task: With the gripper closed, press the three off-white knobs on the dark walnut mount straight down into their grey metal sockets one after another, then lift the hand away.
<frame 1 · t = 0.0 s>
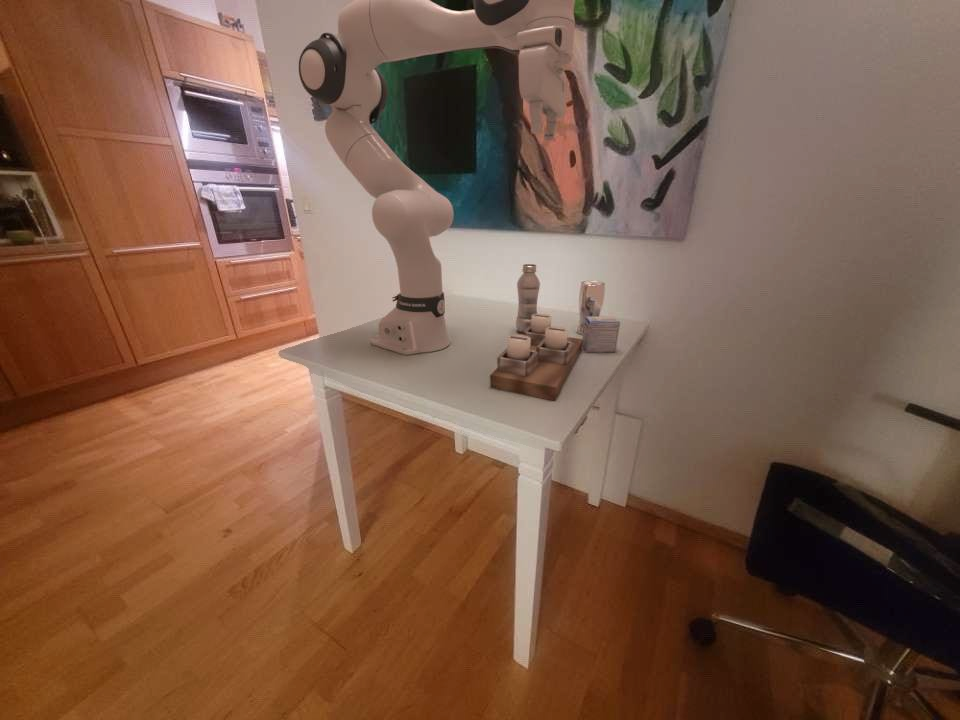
hand: (543, 137, 72), 48 cm above the table, tool pointing down, fingers open, 8 cm apart
knob mount: (541, 366, 88), on the table
plastic bottle: (526, 332, 111), on the table
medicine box: (598, 350, 98), on the table
knob b: (556, 337, 83), point 8 cm above the table, slide at 0.0 cm
knob c: (541, 323, 93), point 8 cm above the table, slide at 0.0 cm
beer glass: (587, 333, 111), on the table
knob a: (518, 346, 78), point 8 cm above the table, slide at 0.0 cm
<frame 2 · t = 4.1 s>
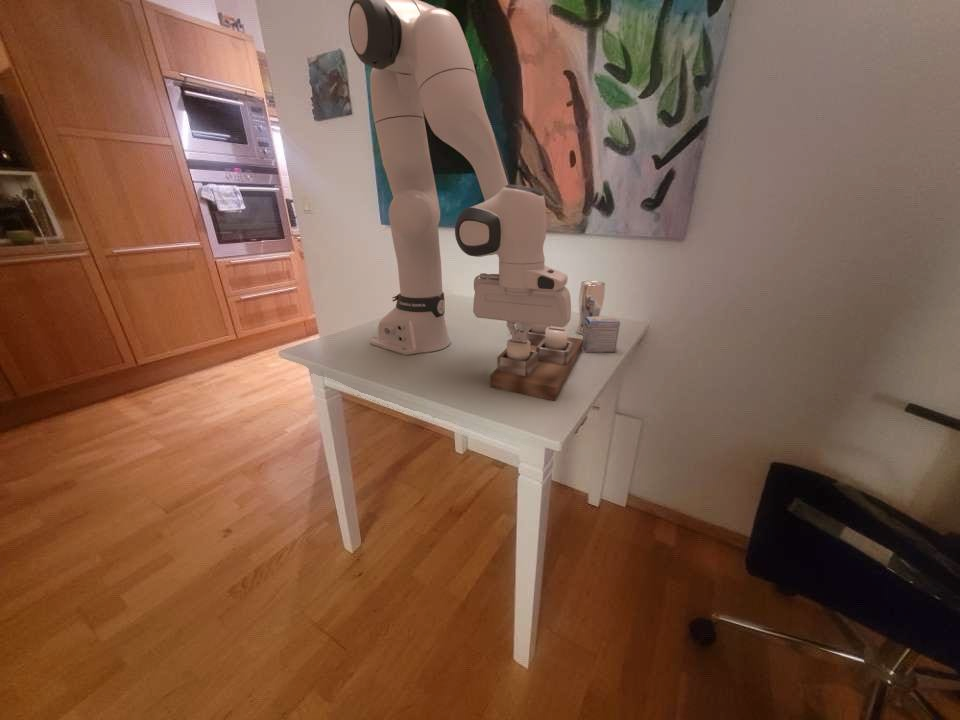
hand: (519, 341, 77), 9 cm above the table, tool pointing down, fingers closed
knob a: (518, 350, 79), point 7 cm above the table, slide at 0.8 cm, touching gripper
everything else where it was.
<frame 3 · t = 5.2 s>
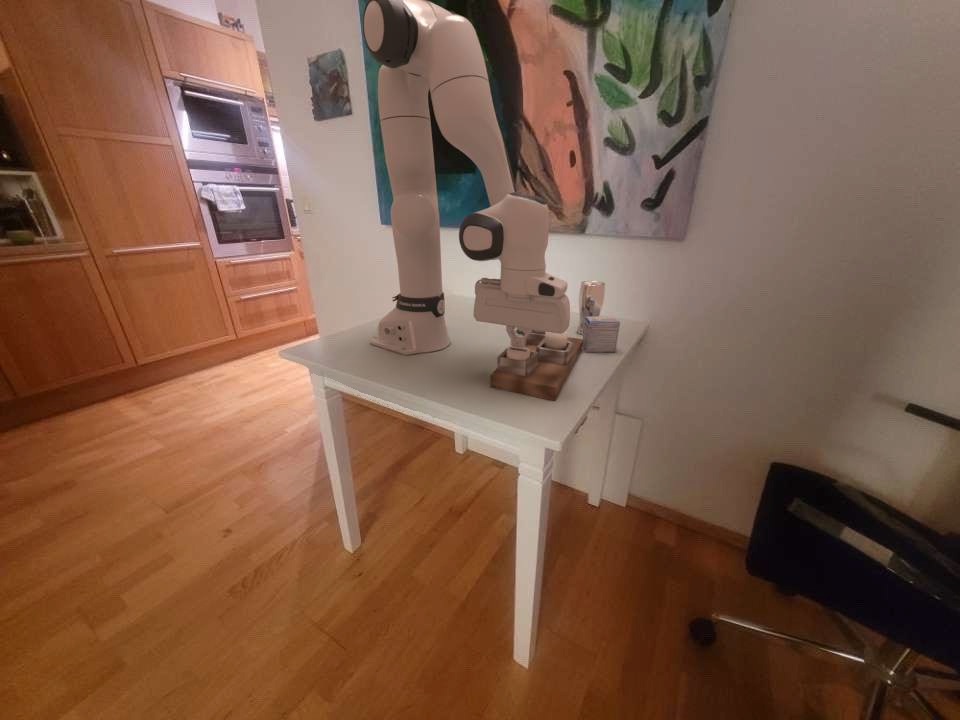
hand: (518, 345, 79), 8 cm above the table, tool pointing down, fingers closed
knob a: (518, 358, 79), point 5 cm above the table, slide at 2.6 cm
everything else where it was.
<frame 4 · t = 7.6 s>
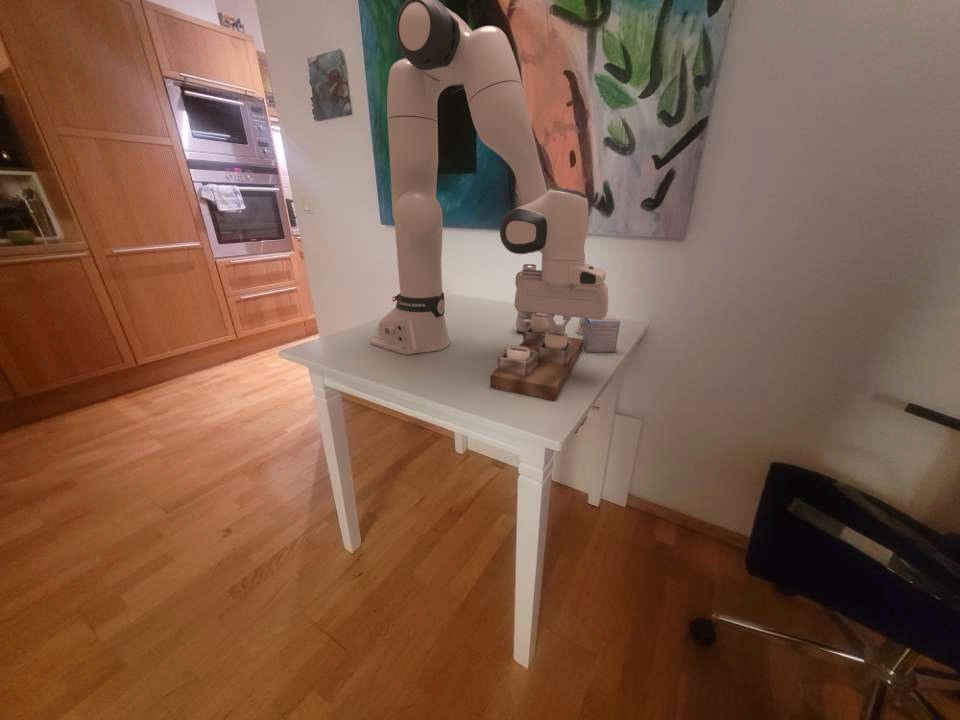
hand: (557, 333, 83), 9 cm above the table, tool pointing down, fingers closed, pressing on knob b
knob b: (555, 342, 84), point 7 cm above the table, slide at 1.1 cm, touching gripper
everything else where it was.
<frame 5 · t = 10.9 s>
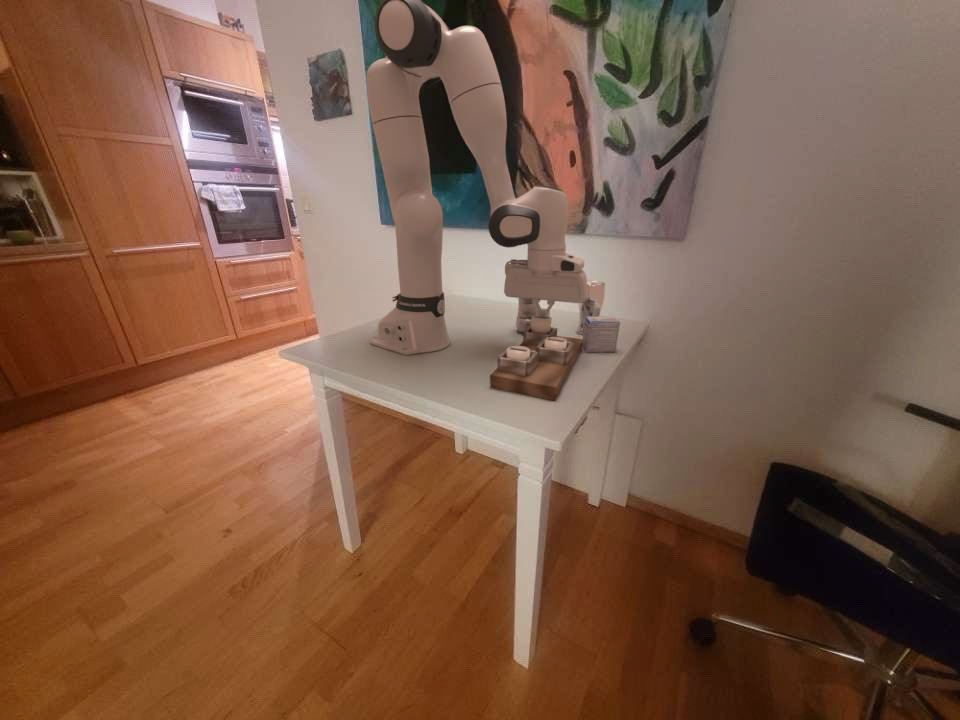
hand: (542, 316, 92), 10 cm above the table, tool pointing down, fingers closed
knob b: (555, 348, 85), point 5 cm above the table, slide at 2.6 cm
knob c: (541, 324, 93), point 7 cm above the table, slide at 0.3 cm, touching gripper
everything else where it was.
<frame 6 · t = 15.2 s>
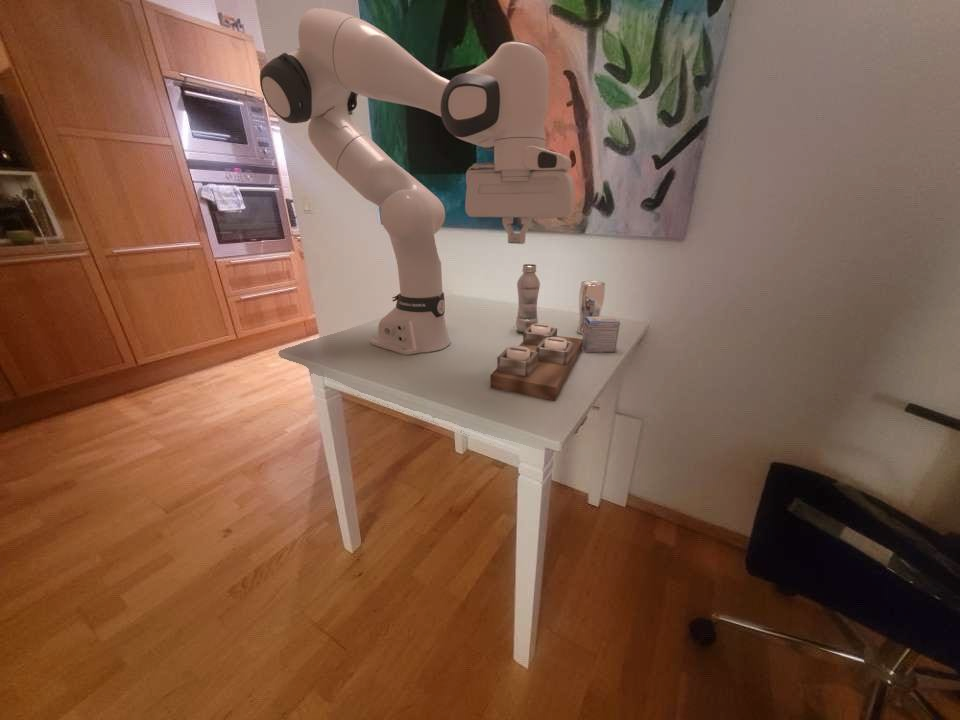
hand: (516, 243, 69), 29 cm above the table, tool pointing down, fingers closed
knob c: (540, 333, 94), point 5 cm above the table, slide at 2.6 cm
everything else where it was.
at the end: knob a slide at 2.6 cm; knob b slide at 2.6 cm; knob c slide at 2.6 cm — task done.
